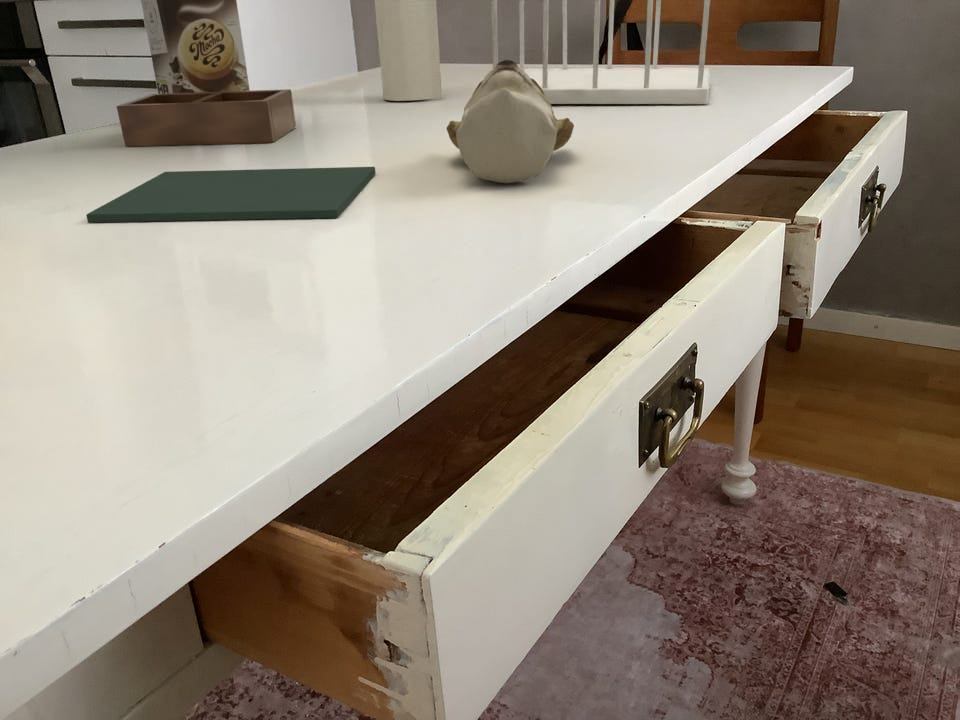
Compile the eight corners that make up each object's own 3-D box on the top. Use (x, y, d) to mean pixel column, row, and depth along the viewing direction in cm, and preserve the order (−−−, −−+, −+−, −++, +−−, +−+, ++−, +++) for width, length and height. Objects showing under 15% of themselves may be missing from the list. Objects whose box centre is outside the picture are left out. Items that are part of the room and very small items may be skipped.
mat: (87, 222, 59) (85, 214, 59) (165, 178, 71) (164, 171, 71) (337, 218, 58) (336, 209, 57) (375, 173, 69) (375, 166, 69)
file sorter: (485, 106, 98) (479, -43, 91) (515, 85, 113) (512, -44, 107) (708, 105, 92) (719, -54, 86) (708, 83, 107) (718, -54, 101)
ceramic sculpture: (426, 67, 59) (448, 57, 73) (433, 191, 62) (452, 159, 76) (580, 62, 58) (572, 53, 72) (579, 189, 61) (571, 157, 75)
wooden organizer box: (125, 146, 85) (115, 106, 83) (159, 131, 92) (151, 93, 91) (273, 142, 84) (266, 101, 82) (296, 127, 91) (291, 89, 89)
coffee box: (182, 124, 96) (152, -32, 89) (161, 118, 101) (131, -31, 94) (255, 112, 101) (233, -36, 94) (232, 107, 106) (209, -34, 99)
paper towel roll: (377, 98, 108) (359, -91, 99) (421, 93, 110) (407, -92, 101) (396, 105, 102) (379, -96, 93) (442, 100, 104) (430, -97, 95)
